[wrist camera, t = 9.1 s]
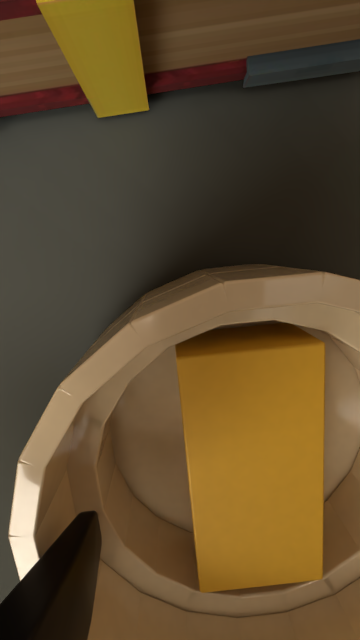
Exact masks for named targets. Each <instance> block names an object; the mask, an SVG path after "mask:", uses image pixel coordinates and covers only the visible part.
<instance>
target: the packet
mask: <svg viewBox="0 0 360 640" xmlns="http://www.w3.org/2000/svg"><path fill="white" fill-rule="evenodd" d="M175 352H176V364H177V374H178V384H179V394H180V404H181V413H182V423H183V433H184V443H185V453H186V463H187V472H188V482H189V492H190V502H191V512H192V521H193V531H194V541H195V551H196V561H197V571H198V580H199V590H200V592H201V593H207V592H216V591H225V590H234V589H243V588H252V587H261V586H270V585H279V584H288V583H297V582H306V581H315V580H321V579H323V522H324V431H325V343H324V342H323V341H321V340H319V339H318V338H316V337H314V336H312V335H311V334H309V333H307V332H305V331H304V330H302V329H300V328H299V327H297V326H295V325H293V324H289V323H276V324H266V325H256V326H246V327H236V328H226V329H216V330H209V331H207V332H204V333H202V334H199V335H197V336H195V337H192V338H190V339H188V340H185V341H183V342H181V343H178V344H176V345H175Z"/></svg>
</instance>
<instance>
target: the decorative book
mask: <svg viewBox="0 0 360 640" xmlns="http://www.w3.org/2000/svg"><path fill="white" fill-rule="evenodd" d="M358 71H360V0H0V117H4V116H11V115H17V114H24V113H30V112H37V111H43V110H50V109H56V108H63V107H69V106H76V105H82V104H89V103H90V105H91V107H92V109H93V110H94V112H95V114H96V116H97V118H101V117H108V116H114V115H121V114H127V113H134V112H140V111H147V110H149V106H148V99H147V94H153V93H160V92H166V91H173V90H179V89H186V88H192V87H199V86H205V85H212V84H218V83H225V82H231V81H238V80H244V82H243V88H247V87H254V86H261V85H267V84H274V83H281V82H288V81H295V80H302V79H309V78H316V77H323V76H330V75H337V74H344V73H351V72H358Z"/></svg>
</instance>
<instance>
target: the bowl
mask: <svg viewBox="0 0 360 640" xmlns="http://www.w3.org/2000/svg"><path fill="white" fill-rule="evenodd" d="M276 323H289V324H293V325H295V326H297V327H299V328H300V329H302V330H304V331H305V332H307V333H309V334H311V335H312V336H314V337H316V338H318V339H319V340H321V341H323V342H324V343H325V431H324V522H323V579H321V580H315V581H306V582H297V583H288V584H279V585H270V586H261V587H252V588H243V589H234V590H225V591H216V592H207V593H201V592H200V590H199V580H198V571H197V561H196V551H195V541H194V531H193V521H192V512H191V502H190V492H189V482H188V472H187V463H186V453H185V443H184V433H183V423H182V413H181V404H180V394H179V384H178V374H177V364H176V352H175V345H176V344H178V343H181V342H183V341H185V340H188V339H190V338H192V337H195V336H197V335H199V334H202V333H204V332H207V331H209V330H216V329H226V328H236V327H246V326H256V325H266V324H276ZM92 510H94V511H96V512H97V514H98V519H99V525H100V530H101V536H102V546H101V553H100V561H99V568H98V576H97V584H96V591H95V599H94V606H93V613H92V620H91V625H90V630H89V634H88V639H87V640H360V280H358V279H354V278H350V277H345V276H341V275H337V274H332V273H328V272H322V271H314V270H306V269H298V268H290V267H281V266H273V265H265V264H249V265H239V266H229V267H218V268H208V269H202V270H201V271H200V270H197V271H195V272H193V273H190V274H188V275H186V276H184V277H181V278H179V279H177V280H174V281H172V282H170V283H168V284H165V285H163V286H161V287H158V288H156V289H154V290H152V291H149V292H148V293H147V294H145V295H143V296H142V297H141V298H140V299H139V300H138V301H136V302H135V303H134V304H133V305H132V306H131V307H130V308H129V309H128V310H126V311H125V312H124V313H123V314H122V315H121V316H120V317H119V318H117V319H116V320H115V321H114V322H113V323H112V324H111V325H110V326H109V327H107V328H106V329H105V330H104V332H103V333H102V334H101V335H100V336H99V338H98V339H97V340H96V341H95V342H94V344H93V345H92V346H91V347H90V348H89V350H88V351H87V352H86V353H85V354H84V355H83V357H82V358H81V359H80V360H79V361H78V363H77V364H76V365H75V366H74V368H73V369H72V370H71V371H70V372H69V374H68V375H67V376H66V377H65V378H64V380H63V381H62V382H61V383H60V385H59V386H58V387H57V389H56V391H55V392H54V394H53V396H52V398H51V400H50V402H49V403H48V405H47V407H46V409H45V411H44V413H43V414H42V416H41V418H40V420H39V422H38V424H37V425H36V427H35V429H34V431H33V433H32V435H31V436H30V438H29V440H28V442H27V444H26V445H25V447H24V449H23V451H22V453H21V455H20V456H19V460H18V463H17V471H16V478H15V486H14V494H13V502H12V510H11V517H10V525H9V533H8V534H9V541H10V545H11V548H12V552H13V556H14V560H15V564H16V567H17V571H18V575H19V579H20V581H21V580H22V578H23V577H24V576H25V575H26V574H27V573H28V572H29V570H30V569H31V568H32V567H33V566H34V565H35V563H36V562H37V561H38V560H39V559H40V558H41V557H42V555H43V554H44V553H45V552H46V551H47V550H48V548H49V547H50V546H51V545H52V544H53V543H54V541H55V540H56V539H57V538H58V537H59V536H60V535H61V533H62V532H63V531H64V530H65V529H66V528H67V526H68V525H69V524H70V523H71V522H72V521H73V520H74V518H75V517H76V516H77V515H78V514H79V513H80V512H83V511H92Z"/></svg>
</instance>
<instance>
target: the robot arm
mask: <svg viewBox="0 0 360 640" xmlns="http://www.w3.org/2000/svg"><path fill="white" fill-rule="evenodd" d="M101 546H102V536H101V530H100V525H99V519H98V514H97V512H96V511H94V510H92V511H83V512H80V513H79V514H78V515H77V516H76V517H75V518H74V520H73V521H72V522H71V523H70V524H69V525H68V526H67V528H66V529H65V530H64V531H63V532H62V533H61V535H60V536H59V537H58V538H57V539H56V540H55V541H54V543H53V544H52V545H51V546H50V547H49V548H48V550H47V551H46V552H45V553H44V554H43V555H42V557H41V558H40V559H39V560H38V561H37V562H36V563H35V565H34V566H33V567H32V568H31V569H30V570H29V572H28V573H27V574H26V575H25V576H24V577H23V578H22V580H21V581H20V582H19V583H18V584H17V585H16V587H15V588H14V589H13V590H12V591H11V592H10V593H9V595H8V596H7V597H6V598H5V599H4V600H3V602H2V603H1V604H0V640H87V639H88V634H89V630H90V625H91V620H92V613H93V606H94V599H95V591H96V584H97V576H98V568H99V561H100V553H101Z"/></svg>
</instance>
